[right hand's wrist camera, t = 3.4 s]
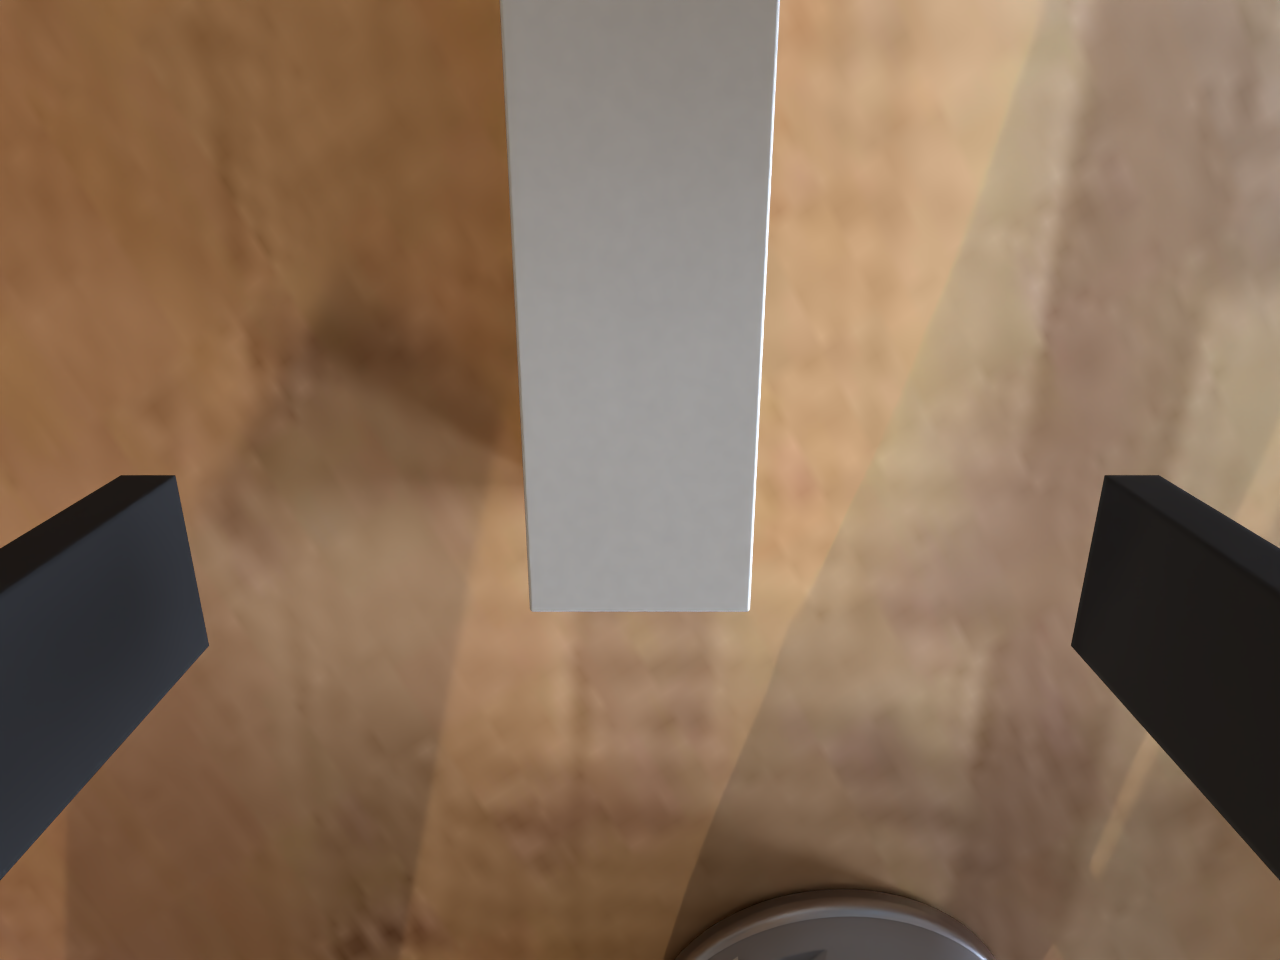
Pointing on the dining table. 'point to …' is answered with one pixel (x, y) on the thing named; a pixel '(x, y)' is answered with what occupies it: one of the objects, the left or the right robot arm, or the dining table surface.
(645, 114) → the bar
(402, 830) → the dining table surface
